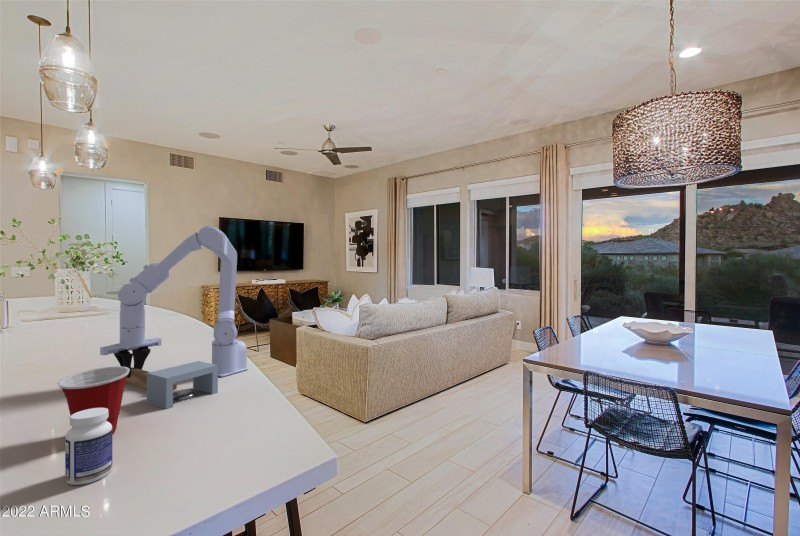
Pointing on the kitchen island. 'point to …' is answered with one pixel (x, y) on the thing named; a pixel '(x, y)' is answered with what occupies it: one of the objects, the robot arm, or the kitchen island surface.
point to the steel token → (183, 395)
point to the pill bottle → (88, 447)
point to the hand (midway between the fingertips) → (132, 375)
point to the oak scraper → (141, 378)
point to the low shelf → (164, 379)
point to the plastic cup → (96, 391)
